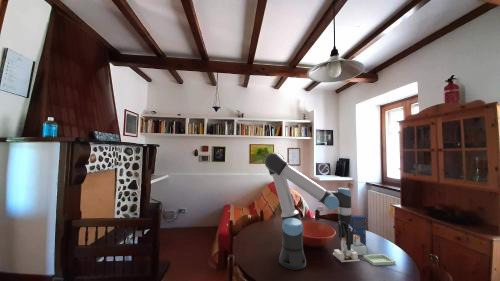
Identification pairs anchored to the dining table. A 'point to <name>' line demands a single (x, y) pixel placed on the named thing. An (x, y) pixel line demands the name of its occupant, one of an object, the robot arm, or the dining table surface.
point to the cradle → (340, 255)
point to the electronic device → (359, 227)
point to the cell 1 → (344, 246)
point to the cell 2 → (356, 240)
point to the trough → (379, 259)
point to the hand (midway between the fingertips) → (345, 253)
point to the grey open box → (360, 249)
